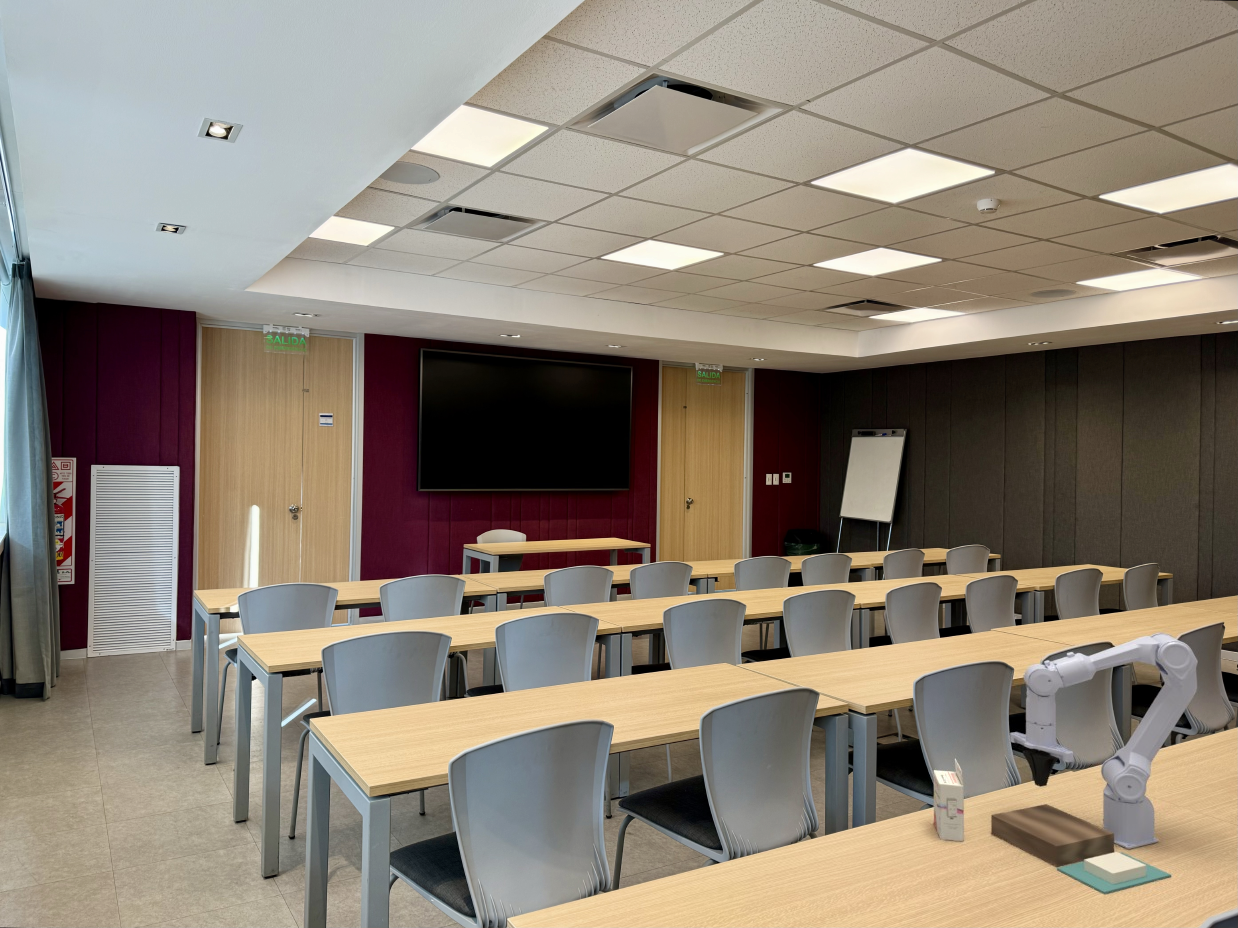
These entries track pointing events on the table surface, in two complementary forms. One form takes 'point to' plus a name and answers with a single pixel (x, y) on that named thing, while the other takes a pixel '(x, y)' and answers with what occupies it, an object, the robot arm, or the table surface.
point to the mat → (1106, 887)
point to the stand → (1052, 834)
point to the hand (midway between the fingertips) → (1040, 784)
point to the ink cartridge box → (949, 804)
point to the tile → (1115, 867)
